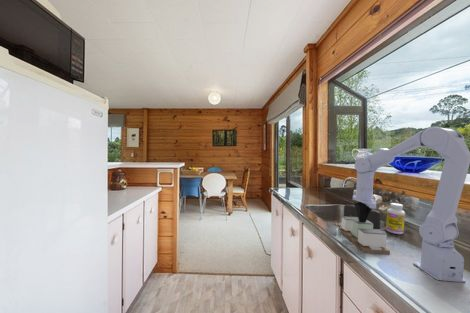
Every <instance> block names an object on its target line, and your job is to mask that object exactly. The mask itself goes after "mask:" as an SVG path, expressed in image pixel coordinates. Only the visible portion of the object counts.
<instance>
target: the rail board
mask: <svg viewBox="0 0 470 313" xmlns="http://www.w3.org/2000/svg"><path fill="white" fill-rule="evenodd" d="M339 230H340V231H341V232H342V233H341V232H340V231H339ZM338 231H339V232H340V233H341V234H342V235H343V236H345V237H346V238H347V239H348V240H349V241H350V242H352V243H353V244H354V246H356V247H357V248H358V249H359V250H360V251H362V252H363V253H367V254H368V253H370V254H379V255H380V254H381V255H390V252H391V250H390V249H388V248H387V247H376V246H363V245H362V244H361V243H359V242H358V238H356V237H355V236H354V235H353V234H352V231H345V230H344V229H343V228H342V227H340V226H339V227H338Z"/></svg>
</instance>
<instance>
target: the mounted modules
mask: <svg viewBox="0 0 470 313" xmlns="http://www.w3.org/2000/svg"><path fill="white" fill-rule="evenodd" d="M353 219H354V220H359V219H358V217H346V216H344V215H343V216H341V228H343V229H344V230H345V231H352V227H353ZM358 229H359V230H358V242H359V243H361V244H362V245H363V246H376V247H385V248H387V237H388V236H387V235H388V233H387V232H385V231H384V230H382V229H381V228H380V229H364V228H358Z"/></svg>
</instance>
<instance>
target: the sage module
mask: <svg viewBox="0 0 470 313" xmlns="http://www.w3.org/2000/svg"><path fill="white" fill-rule="evenodd" d="M358 228H364V229H373V223H372V222H370V221H368V220H366V222H360V221H359V220H354V219H353V227H352V234H353V235H354V236H355V237H356V238H358V230H359V229H358Z"/></svg>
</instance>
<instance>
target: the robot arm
mask: <svg viewBox="0 0 470 313" xmlns="http://www.w3.org/2000/svg"><path fill="white" fill-rule="evenodd" d="M418 148H428V149H431V150H432V151H435V152H436V153H437V154H438V155H439V156H440V157H441V158H442V159H443V160H444V163H443V167H442V171H441V174H440V179H439V182H438V185H437V189H436V193H435V196H434V201H433V203H432V204H433V205H432V209H431V210H430V212H429V213H428V214H427V215H426V217H425V220H424V222H422V223H421V224H420V226H419V228H418V232H419V236H420V237H421V238H422V241H421V251H420V252H421V255H420V262H419V261H413V265H415V266H416V267H417V268H419V269H421V270H422V271H424V272H425V273H426V274H428V275H429V276H431V277H432V278H434V280H438V281H445V282H446V281H447V282H448V281H450V282H457V283H459V282H462V283H466V282H467V280H466V279H465V278H464V268H465V259H464V256H463V255H462V254H461V253H460V252H458V251H457V249H456V248H455V242H454V240H456V239H457V237H458V236H459V234H460V233H459V232H460V231H459V228H458V221H459V219H458V218H457V215H456V214H457V210H458V206H459V205H460V204H459V203H460V200H461V196H462V192H463V189H464V186H465V182H466V179H467V176H468V175H467V174H468V171H469V169H470V168H469V167H470V150H469V148H468V146H467V143H466V140H465V136H464V135H462V134H461V133H460V132H459V131H457V130H455V129H452V128H443V127H440V126H430V127H427V128H426V129H424V130H421V131H418V132H417V133H415V134H414V135H412V136H411V137H408V138H407V139H404V140H403V141H402V142H400V143H398V144H396V145H394V146H392V147H391V148H389V149H388V148H385V147H384V148H377V149H376V151H375V152H374V153H372V154H367V155H366V157H365V158H364V157H358V159H356V160H355V162H354V169H355V170H356V171H357V172H356V186H355V187H356V188H355V195H354V194H353V195H352V201H356V202H354V203H353V205H355V207H356V210H357V214H358V219H359V221H360V222H366V220H367V217H368V215H369V213H370V211H371V210H372V209H373V210H376V209H377V202H376V200H375V198H374V199H373V188H374V176H375V173H376V171H377V170H378V169H380V168H383V167H384V166H386V165H389V164H391V163H393V162H394V161H395V159H396V157H398V156H401V155H404V154H405V153H408V152H411V151H413V150H416V149H418Z"/></svg>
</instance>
